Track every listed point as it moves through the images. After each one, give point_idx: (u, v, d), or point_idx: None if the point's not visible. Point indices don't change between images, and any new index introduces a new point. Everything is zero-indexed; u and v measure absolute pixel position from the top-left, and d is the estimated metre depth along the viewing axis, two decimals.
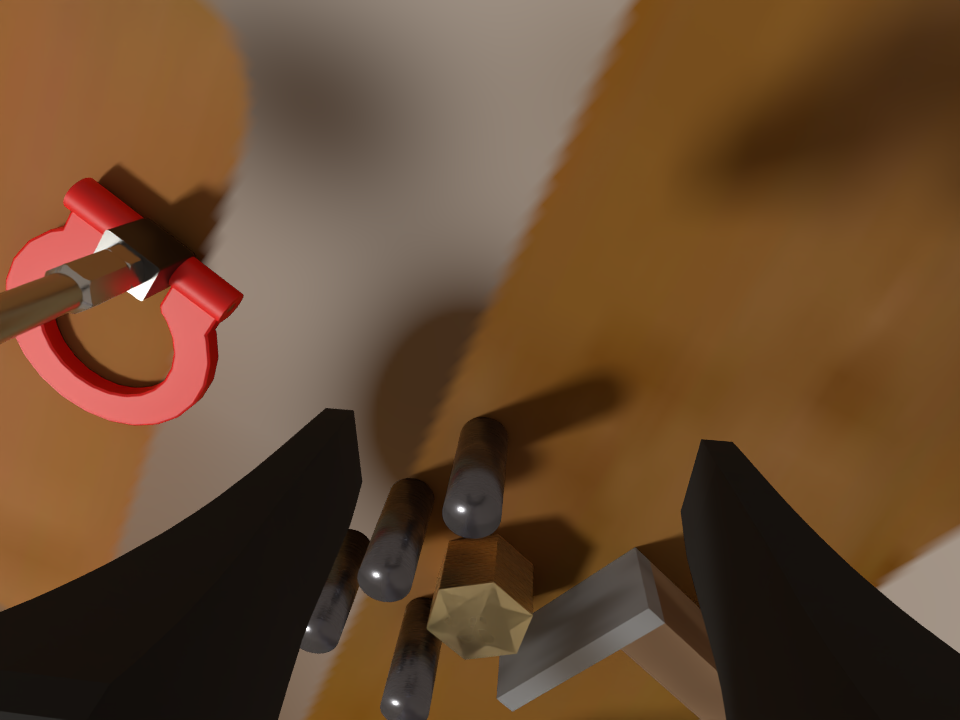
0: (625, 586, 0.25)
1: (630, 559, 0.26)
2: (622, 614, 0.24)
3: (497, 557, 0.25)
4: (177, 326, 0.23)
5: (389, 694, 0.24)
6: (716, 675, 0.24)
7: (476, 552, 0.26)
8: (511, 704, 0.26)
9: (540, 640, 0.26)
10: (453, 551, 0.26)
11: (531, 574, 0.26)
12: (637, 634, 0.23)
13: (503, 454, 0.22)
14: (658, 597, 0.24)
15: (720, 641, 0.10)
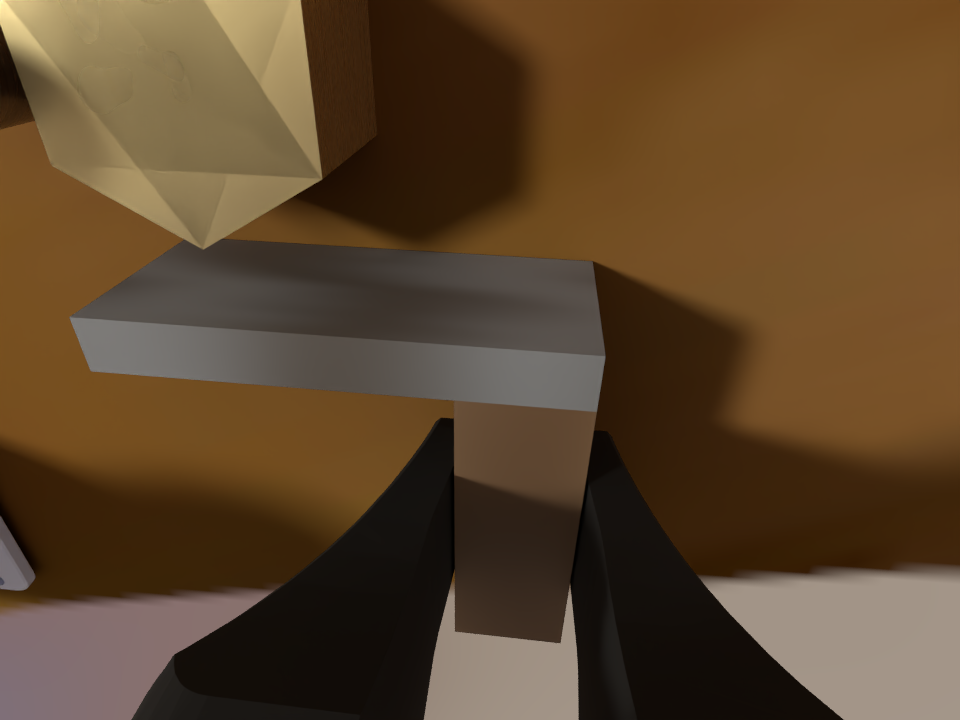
0: (546, 300, 0.10)
1: (575, 271, 0.11)
2: (521, 335, 0.09)
3: None
4: None
5: None
6: (564, 563, 0.11)
7: None
8: (101, 354, 0.09)
9: (271, 282, 0.10)
10: None
11: (365, 136, 0.10)
12: (519, 395, 0.09)
13: None
14: None
15: (579, 626, 0.10)
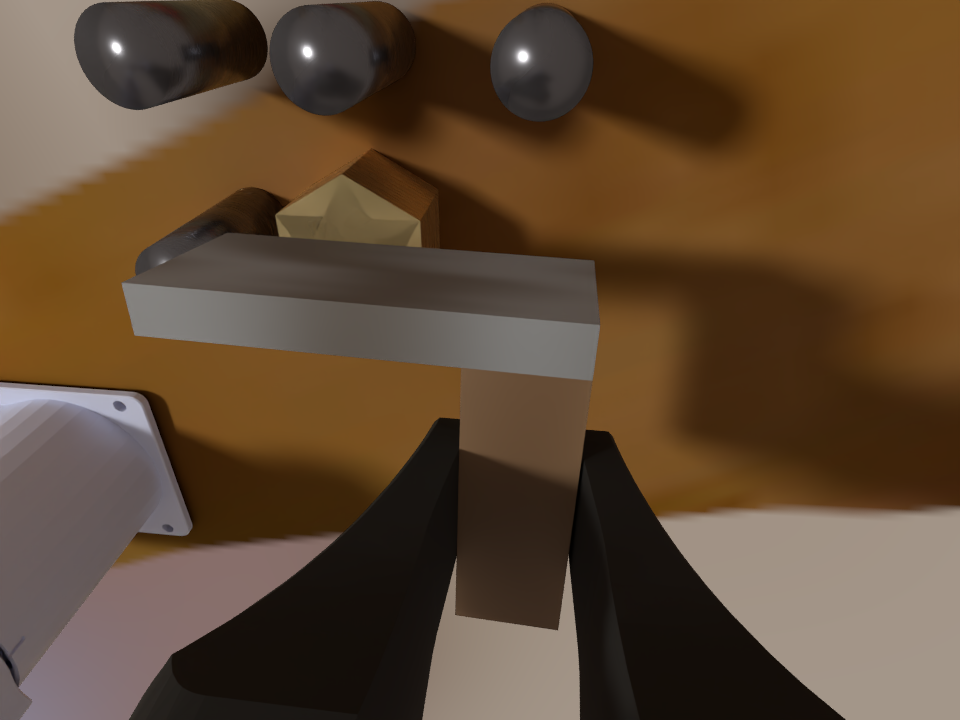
0: (549, 285, 0.11)
1: (577, 267, 0.12)
2: (524, 308, 0.10)
3: (430, 206, 0.17)
4: None
5: (170, 245, 0.14)
6: (561, 540, 0.11)
7: (404, 182, 0.17)
8: (146, 318, 0.10)
9: (301, 265, 0.11)
10: (374, 160, 0.17)
11: None
12: (521, 363, 0.10)
13: None
14: None
15: (580, 626, 0.10)
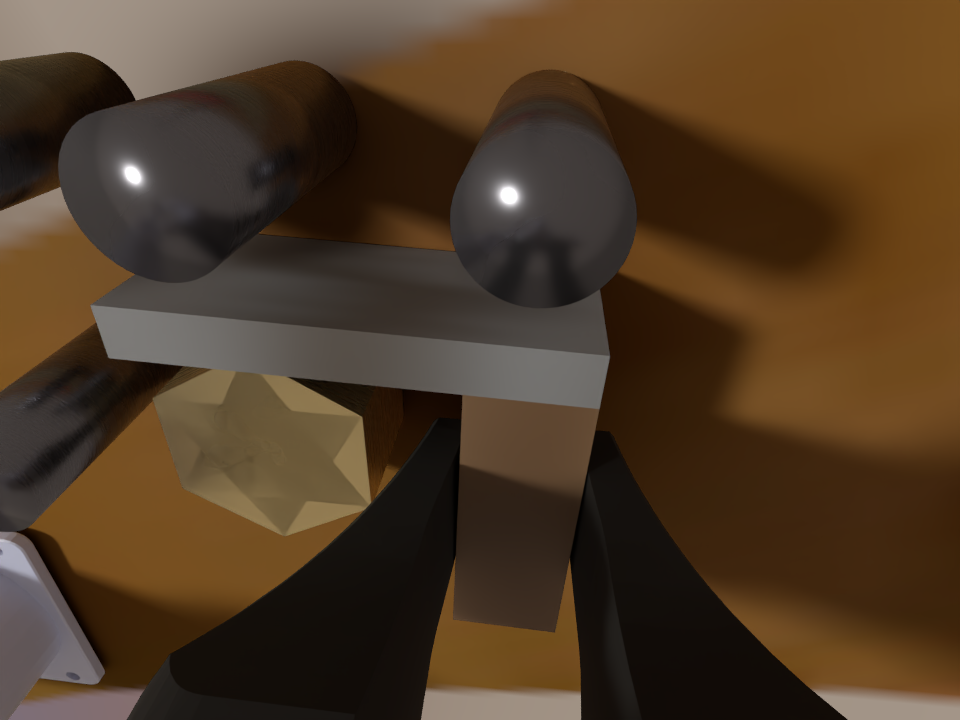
0: None
1: None
2: (529, 334, 0.09)
3: None
4: None
5: None
6: (561, 554, 0.11)
7: None
8: (120, 341, 0.10)
9: (286, 276, 0.11)
10: None
11: (396, 432, 0.14)
12: (525, 391, 0.09)
13: None
14: None
15: (581, 626, 0.10)
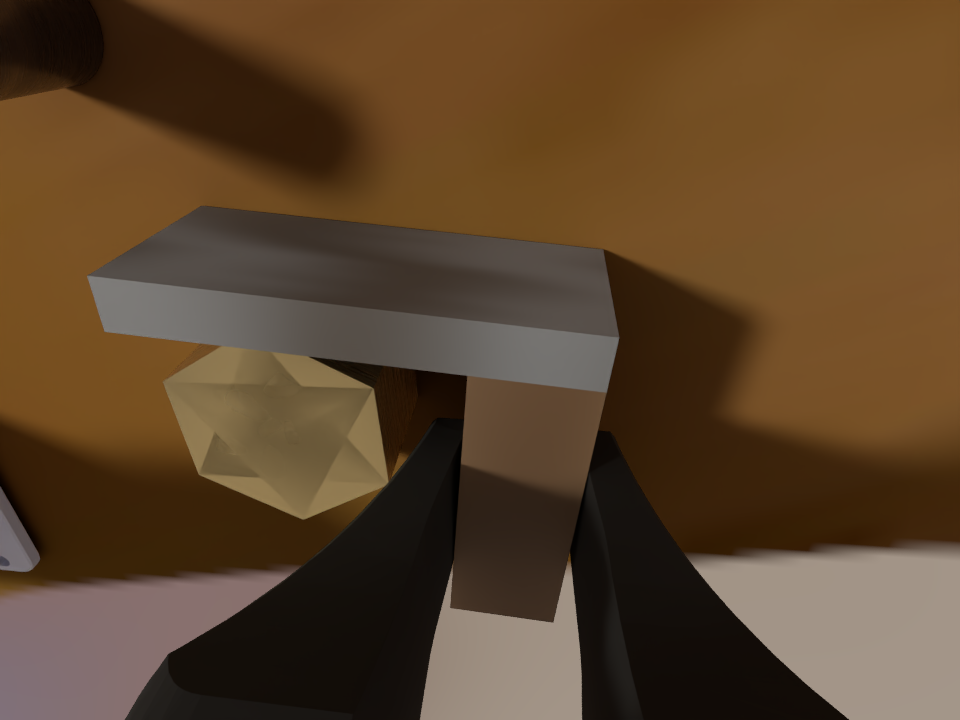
0: (560, 282, 0.10)
1: (586, 258, 0.11)
2: (537, 315, 0.09)
3: None
4: None
5: None
6: (563, 542, 0.11)
7: None
8: (116, 315, 0.09)
9: (289, 253, 0.10)
10: None
11: (411, 411, 0.13)
12: (532, 373, 0.09)
13: None
14: None
15: (582, 626, 0.10)
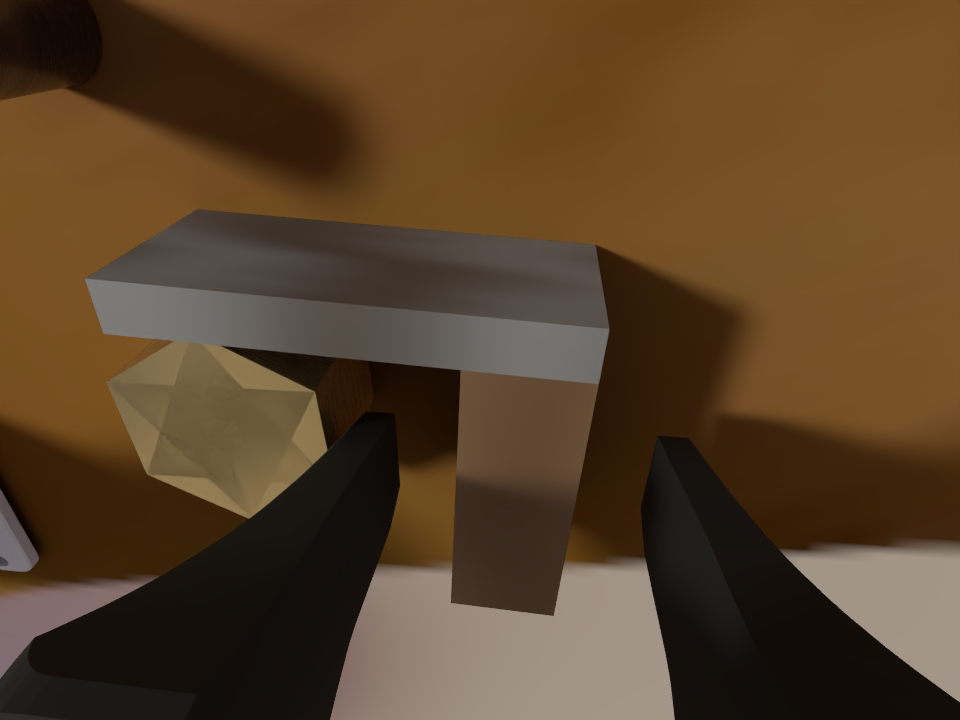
0: (551, 277, 0.10)
1: (578, 252, 0.11)
2: (528, 308, 0.09)
3: None
4: None
5: None
6: (560, 535, 0.11)
7: None
8: (114, 317, 0.10)
9: (283, 253, 0.10)
10: None
11: None
12: (524, 366, 0.09)
13: None
14: None
15: (671, 636, 0.10)
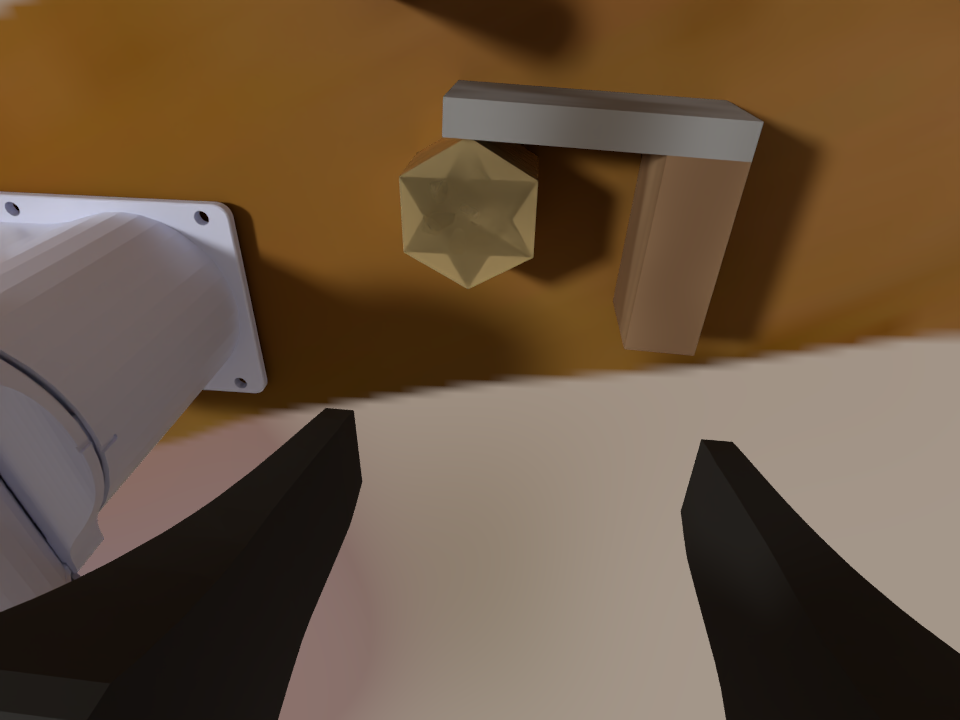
0: (712, 108, 0.16)
1: (719, 102, 0.17)
2: (710, 115, 0.15)
3: None
4: None
5: None
6: (709, 283, 0.17)
7: (513, 148, 0.18)
8: (453, 124, 0.16)
9: (541, 94, 0.17)
10: None
11: None
12: (707, 150, 0.15)
13: None
14: None
15: (720, 641, 0.10)
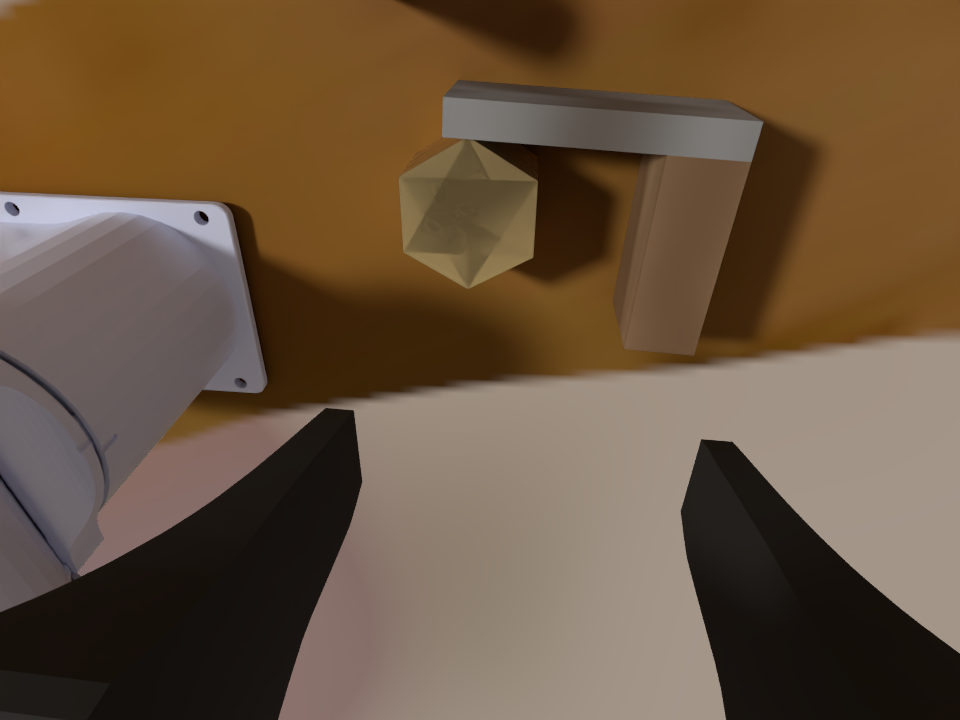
0: (712, 107, 0.16)
1: (719, 102, 0.17)
2: (710, 115, 0.15)
3: (537, 170, 0.18)
4: None
5: None
6: (709, 283, 0.17)
7: (513, 148, 0.18)
8: (453, 124, 0.16)
9: (541, 94, 0.17)
10: None
11: None
12: (707, 150, 0.15)
13: None
14: None
15: (720, 641, 0.10)
